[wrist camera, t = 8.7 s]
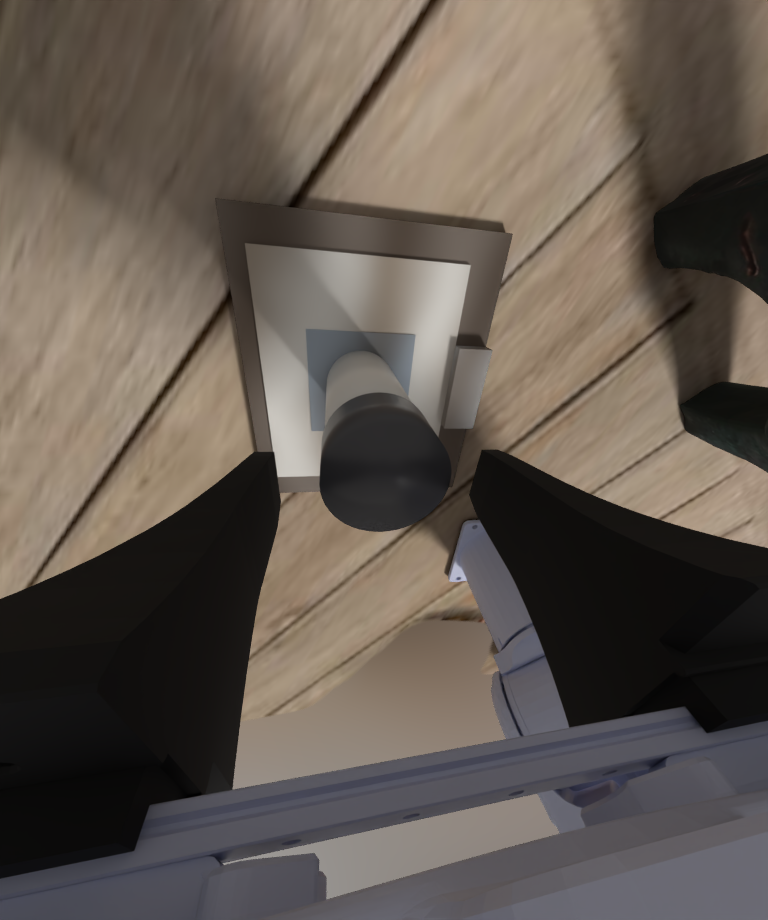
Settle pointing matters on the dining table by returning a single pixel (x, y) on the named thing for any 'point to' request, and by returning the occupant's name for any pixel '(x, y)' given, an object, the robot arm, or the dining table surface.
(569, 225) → the dining table surface
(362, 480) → the marker
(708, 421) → the ceramic cat
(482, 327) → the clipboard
